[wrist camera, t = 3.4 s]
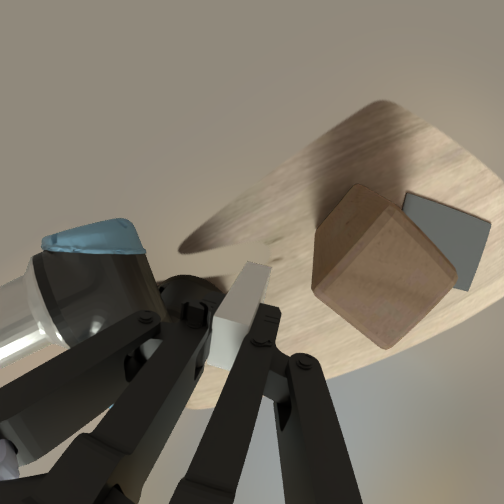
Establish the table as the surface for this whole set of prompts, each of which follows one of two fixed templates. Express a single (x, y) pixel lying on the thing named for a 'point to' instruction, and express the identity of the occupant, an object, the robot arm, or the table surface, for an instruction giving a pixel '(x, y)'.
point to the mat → (451, 235)
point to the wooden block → (378, 267)
